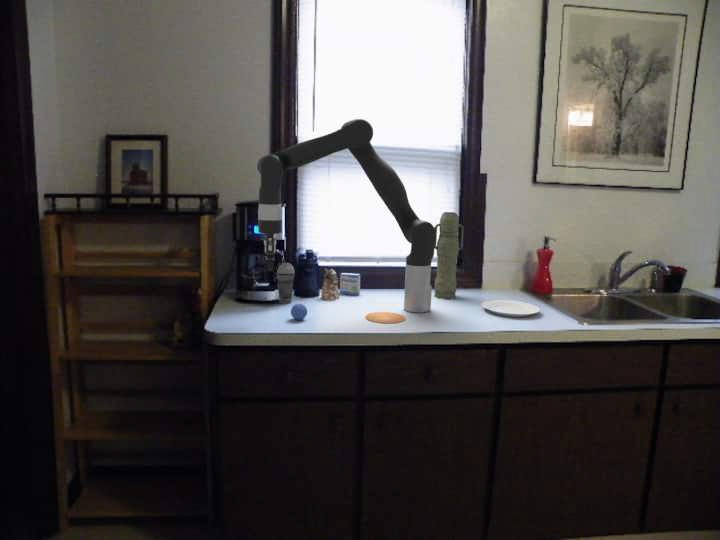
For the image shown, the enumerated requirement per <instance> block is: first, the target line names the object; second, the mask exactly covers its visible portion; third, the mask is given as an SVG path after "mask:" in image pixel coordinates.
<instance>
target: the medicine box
mask: <svg viewBox="0 0 720 540" xmlns="http://www.w3.org/2000/svg"><path fill="white" fill-rule="evenodd" d="M340 294H346V295H345V296H355V295H358V296H359V295H360V294H361V273H349V272H342V273H340V277H339V295H340Z"/></svg>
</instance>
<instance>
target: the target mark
mask: <svg viewBox="0 0 720 540" xmlns="http://www.w3.org/2000/svg"><path fill="white" fill-rule="evenodd" d="M365 319H366V320H367V321H369V322H371V323H372V322H373V323H377V324H378V323H379V324H385V325H386V324H387V325H388V324H400V323H402V322H405V321H406V319H407V318H406V316H405V315H403V314H400V313H396V312H390V311H379V312H378V311H377V312H371V313H368V314H365Z"/></svg>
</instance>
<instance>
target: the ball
mask: <svg viewBox="0 0 720 540" xmlns="http://www.w3.org/2000/svg"><path fill="white" fill-rule="evenodd" d="M290 315H291V316H292V318H293V319H294V320H297V321H301V320H304V319H305V318H306V317H307V315H308V309H307V307H306V306H305V305H304V304H303V303H296V304H294V305H293V306H292V307H291V309H290Z"/></svg>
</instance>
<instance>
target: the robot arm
mask: <svg viewBox="0 0 720 540" xmlns="http://www.w3.org/2000/svg"><path fill="white" fill-rule="evenodd" d="M373 136H374V129H373V126H372V124H371V123H370V122H369V121H368V120H366V119H363V118H354V119H351V120H349V121H346V122H345V123H343V125H341V128H340V129H337V130H335V131H334V132H331V133H328V134H324V135H322V136H318V137H315V138H312V139H308V140H305V141H303V142H302V141H301V142H299V143H297V144H294V145H291V146H289V147H287V148H285V149H283V150H280V151H276V152H272V153H270V154H269V153H268V154H266V155H264V156H262V157H261V158H259V159H258V161H257V165H256V166H257V168H256V169H257V171H258V173H259V174H260V186H259V190H258V209H257V210H258V211H257V214H258V216H257V217H258V219H257V221H258V223H257V224H258V228H257V230H258V233H259V234H263V235H264V234H265V235H266V237H264V238H263V245H264V253H265V259H266V271H267V272H274V269H275V268H274V261H275V254H276V245H277V238H275V237H274V235H277V234H281V233H283V232H282V231H283V214H282V213H283V211H282V185H283V184H282V183H283V173H285V172H287V171H289V170H295V169H298V168H301V167H303V166H306V165H308V164H312V163H313V162H317V161H318V160H321V159H322V158H326V157H328V156H330V155H333V154H336V153H339V152H341V151H344V150H348V151H349V152H350V154H352V156H353V157H354V158H355V160H356V161H357V162H358V164H359V165H360V167H361V168H362V170H363V172H364V173H365V175H366V176H367V178H368V180H369V182H370V183H371V184H372V187H373V188H374V190H375V191H376V192H377V194H378V196H379V197H380V198H381V199H380V200H381V201H382V202H383V203H384V204H385V206H386V208H387V209H388V210H389V211H390V213H391V215H392V216H393V217H394V219H395V221H396V223H397V224H398V226H399V228H400V230H401V233H402V235H403V236H404V238H405V240H406V241H407V242H409V244H411V246H410V252H409V254H407V256H406V258H405V274H404V275H405V276H404V277H405V279H404V298H403V299H404V302H403V309H404V310H405V311H406V312H409V313H418V314H419V313H426V312H431V311H432V310H431V309H432V308H431V307H432V292H433V291H432V289H433V287H432V284H431V275H432V260H433V259H434V255H435V229H434V227H435V226H434V225H433V224H432V223H431V222H429V221H426V220H421V219H420V218H419V217H418V215H417V214H416V212H415V211H414V209H413V208H412V207H411V205H410V202H409V201H410V200H409V197H408V194H407V190H406V186H404V183H403V181H402V180H401V178H400V177H399V175H398V173H397V172H396V171H395V169H393V167H392V166H391V165H390V164H389V163H388V162H387V161H386V160H384V158H383V157H381V155H380V154H379V153H378V152H377V151H376V150H375V148H374V146H373V144H372V143H371V142H372V139H373Z"/></svg>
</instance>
